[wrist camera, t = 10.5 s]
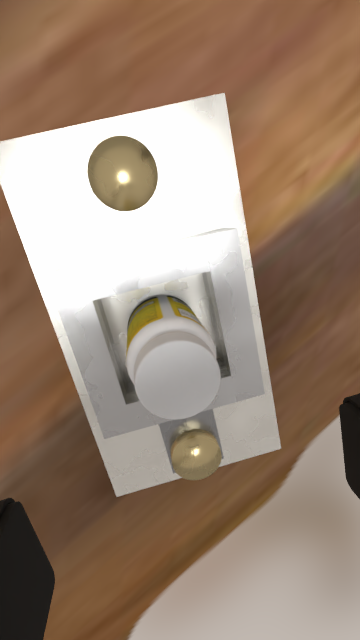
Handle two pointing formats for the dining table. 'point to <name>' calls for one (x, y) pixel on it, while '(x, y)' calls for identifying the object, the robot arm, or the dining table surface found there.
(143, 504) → the dining table surface
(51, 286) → the gray plate
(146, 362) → the supplement bottle
